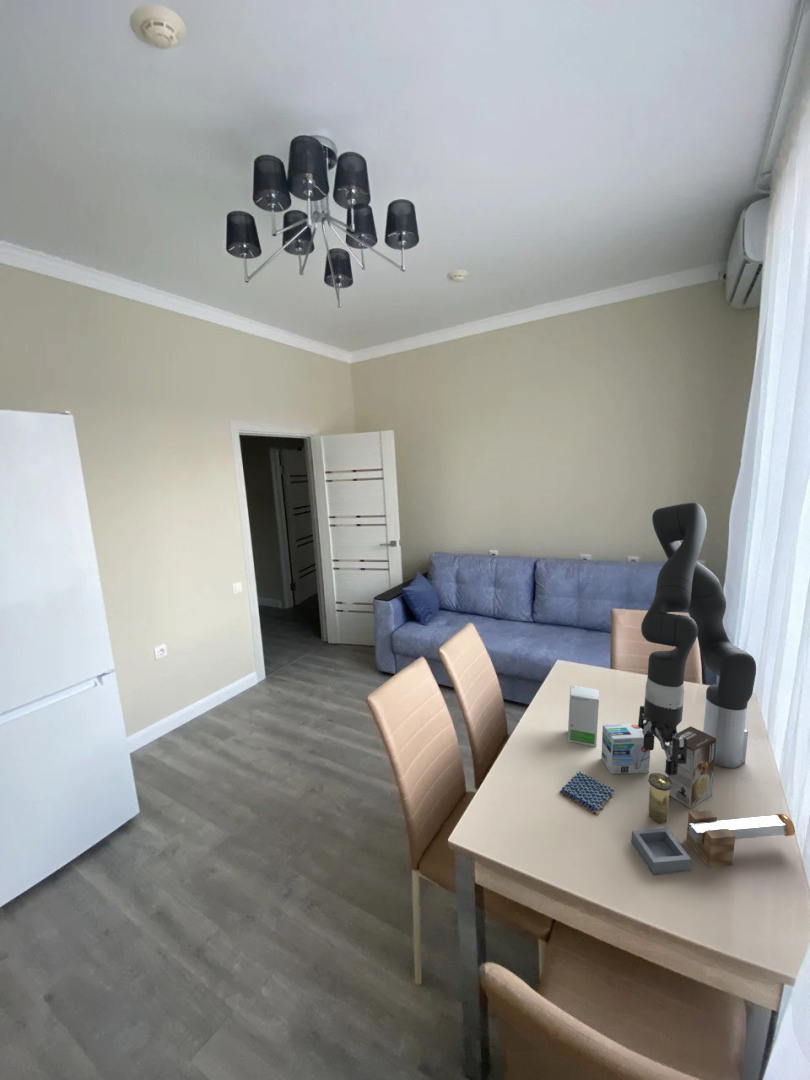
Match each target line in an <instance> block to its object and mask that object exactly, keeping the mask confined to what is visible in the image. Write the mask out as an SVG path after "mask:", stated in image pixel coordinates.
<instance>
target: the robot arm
mask: <svg viewBox="0 0 810 1080" xmlns="http://www.w3.org/2000/svg"><path fill="white" fill-rule="evenodd" d="M651 517H652V526H653V530H654V532H655V534H656V537H657V539H658V541H659V544H660V545H661V548H662V549H663V552H664V554H665V556H666V558H667V561H666V562H665V563H664V564H663V566H662V567H661V569H660V570H659V572H658V575H657V581H656V587H655V592H654V593H655V595H654V598H653V600H652V603H651V606H650V607H649V608H648V610H647V612H646V614H645V616H644V617H643V620H642V622H641V624H640V625H641V626H640V632H641V634H642V636H643V638H644V639H645V640H646V641H647V642H648V643H651V644H658V645H663V646H669V647H674V649H671V650H658V651H653V652H650V654H649V657H648V665H647V676H646V677H647V678H646V682H645V691H644V703H643V705H640V706H639V711H638V712H639V714H638V722H637V723H638V726H639V728H642V733H643V735H644V741H643V748H644V749H645V750H646V751H649V750H650V751H653V750H654V749H655V738H656V739H657V740H658V741H659V744H660V747H661V749H662V750H663V751H664V753H665V756H666V758H665V770H664V771H665V774H666V775H667V776H668V775H676V774H677V769H678V764H686V759H687V739H686V738H685V737H680V736H679V735H678V734H677V733H678V730H677V726H679V724H680V723H682V720H683V712H684V710H683V709H684V698H685V688H684V687H685V686H684V682H685V670H686V664H687V660H688V657H689V654H690V652H691V650H692V648H693V646H694V644H695V642H696V640H697V642H698V646H699V650H700V654H701V658H702V661H703V663H704V666H706V668H707V669H709V670H710V671H711V672H712V673H713V674H716V675H717V676H718V677H719V679H718V684H711V685H709V686H707V688H706V693H705V701H704V702H705V703H704V704H705V705H704V716H703V717H704V718H703V729H702V732H704V733H706V734H708V735H710V736H712V737H715V738H716V749H715V763H714V765H717V766H720V767H723V768H727V769H728V768H729V769H733V768H738V767H740V766H741V765H742V764H745V763H746V759H747V758H746V757H747V747H748V738H749V730H747V729H746V724H747V723H746V721H747V710H748V703H749V701H750V699H751V698H752V695H753V692H754V687H755V681H756V675H757V663H756V661H755V659H754V657H753V656H752V655H751V654H750V653H748V652H746V651H745V650H743V649H741V648H739V647H737V646H736V645H734V644H733V643H732V642H731V641H730V639H729V637H728V634H727V632H726V630H725V627H724V624H723V620H724V616H725V614H726V613H725V612H726V609H727V601H726V596H725V594H724V590H723V587H722V585H721V582H720V580H719V578H718V577H717V576H716V575H715V573H713V572H712V571H711V570H710V569H709V568H707V567H706V566H705V565H703V564H702V563H701V562H699V561H698V559H699V557H700V553H701V550H702V547H703V542H704V541H705V536H706V533H707V525H708V521H707V515H706V513H705V510H704V508H703V507H702V505H701V504H699V503H698V502H695V501H693V502H692V501H691V502H685V503H684V502H683V503H679V504H673V505H669V506H665V507H661V508H657V509H655V510H654V511H653V513H652V516H651ZM686 610H687V612H688V615H689V616H688V615H683V614H677V612H683V611H686ZM644 721H645V722H644ZM671 741H672V742H671ZM669 742H671V743H672V745H670V746H669V745H668V744H667V743H669ZM670 749H672V755H671V754H670ZM680 755H681V757H680Z"/></svg>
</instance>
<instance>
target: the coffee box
mask: <svg viewBox="0 0 810 1080" xmlns="http://www.w3.org/2000/svg"><path fill="white" fill-rule="evenodd" d="M677 734H678V735H679V736H680V737H685V738H686V739H687V759H686V764H678V769H677V774H676V775H667V777H668V778H669V779H670V780H671V781H672V788H671V789H670V790H669V796H671V797H672V798H673V799H676V800H677V801H678V802H680V803H682V804H683V805H685V806H686V807H688V808H689V809H693V808H694V807H695V806H698V805H699V804H700V803H702V802H703V801H705V800H706V799H708V798H709V797H711V796H712V795H713V787H714V775H715V772H714V771H715V764H714V763H715V749H716V738H715V737H712V736H710V735H708V734H706V733H704V732H703V730H700V729H697V728H695V727H693V726H688V727H686V728H684V729H683V730H681V731H679V732H677ZM671 742H672V741H671ZM671 742H668V743H669V744H668V746H670V745H672V743H671ZM670 754H671V755H672V749H670ZM680 757H681V755H680Z"/></svg>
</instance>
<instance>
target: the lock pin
mask: <svg viewBox="0 0 810 1080" xmlns="http://www.w3.org/2000/svg"><path fill="white" fill-rule="evenodd" d="M726 828H728V829H729V830H730V831H731V832H732V833H733V834H734V835H735V840H742V839H753V838H763V837H765V838H766V837H773V836H774V837H776V836H785V837H792V836H794V835H795V834H796V829H795V825H794V824H793V822H792V820H791V819H790V817H788V816H787V815H786V814H784V813H776V814H774V815H769V816H757V817H756V816H755V817H746V818H736V819H725V820H724V819H723V820H717V821H712V822H701V823H690V824H689V834H690V836H691V837H692V838H693V839H694V840H695V842H696V843H700V842H704V836H705V830H715V829H726Z"/></svg>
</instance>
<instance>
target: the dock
mask: <svg viewBox="0 0 810 1080" xmlns="http://www.w3.org/2000/svg"><path fill="white" fill-rule="evenodd" d="M630 839H631V840H630V842H631V844H632V845H633V847H634V848H635V850H636V851H637V853H638V854H639V856H640V858H641V859H642V860H643V862H644V864H645V866H646V867H647V868H648V870H649V871H650V873H651V874H652V876H656V875H657V876H658V875H667V874H668V875H669V874H679V873H686V872H687V873H688V872H691V867H692V858H691V856H690V855H689V854H688V853H687V852H686V851H685V849H684V847H682V845H681V844H680V843H679V842H678V840H677V838H676V837H675V836H674V835H673V834H672V832H671V831H670V830H669V829H668V827H666V826H665V827H655V828H645V829H644V828H643V829H635V830H633V829H632V830H631V837H630Z"/></svg>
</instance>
